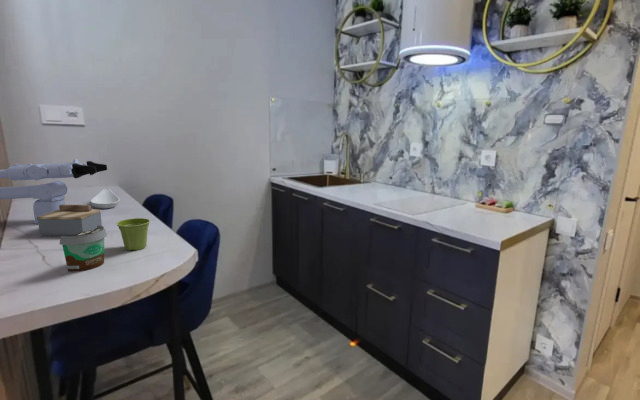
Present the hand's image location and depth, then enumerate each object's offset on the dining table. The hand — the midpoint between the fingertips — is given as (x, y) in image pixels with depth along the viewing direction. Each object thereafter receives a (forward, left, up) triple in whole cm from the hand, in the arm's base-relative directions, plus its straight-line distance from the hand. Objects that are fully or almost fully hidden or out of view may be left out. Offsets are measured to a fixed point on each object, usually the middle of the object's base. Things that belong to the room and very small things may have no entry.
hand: (101, 168), depth 131 cm
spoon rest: (-15, +31, -22) cm, 41 cm away
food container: (+19, -45, -22) cm, 54 cm away
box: (-5, -13, -22) cm, 26 cm away
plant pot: (+24, -30, -22) cm, 44 cm away
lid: (-5, -13, -16) cm, 21 cm away
